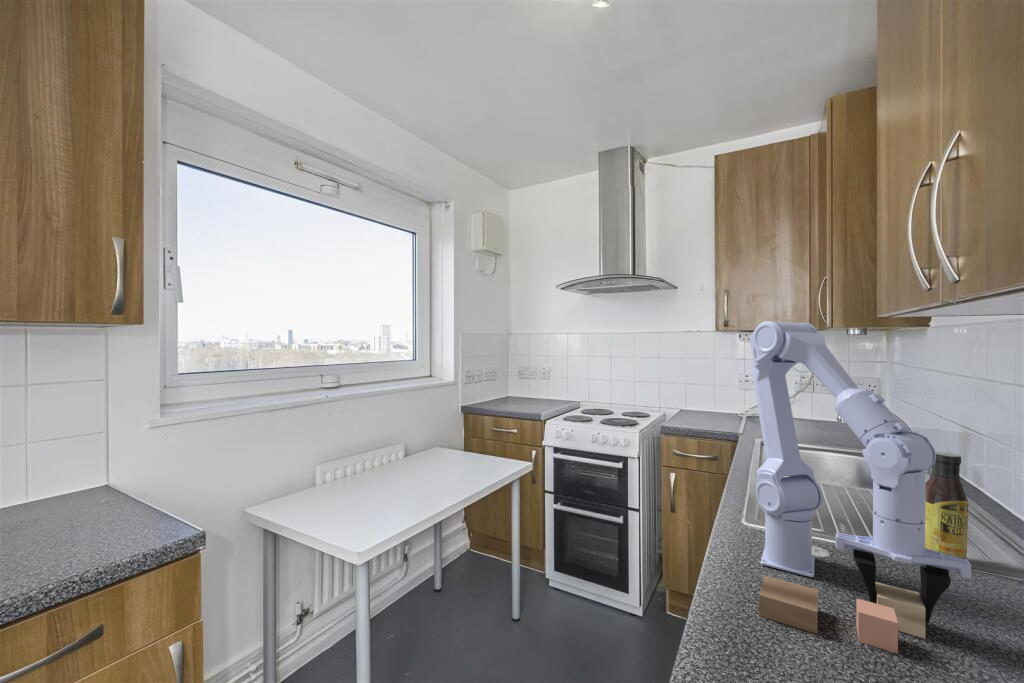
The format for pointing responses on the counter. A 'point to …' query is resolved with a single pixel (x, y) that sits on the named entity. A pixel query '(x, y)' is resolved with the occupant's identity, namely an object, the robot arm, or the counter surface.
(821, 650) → the counter surface
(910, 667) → the counter surface
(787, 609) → the walnut base
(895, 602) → the maple block
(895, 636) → the terracotta block
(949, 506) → the sauce bottle
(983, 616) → the counter surface
